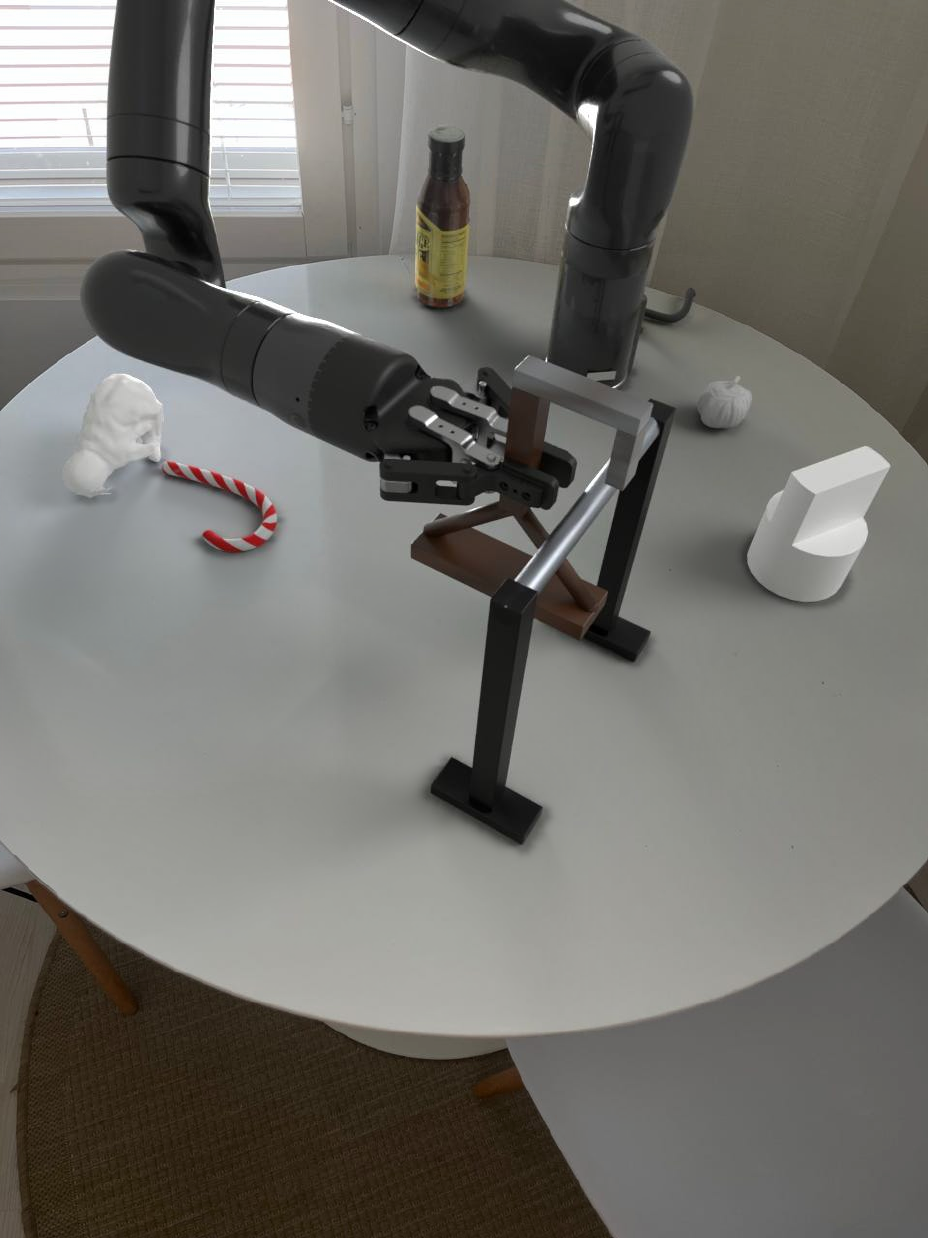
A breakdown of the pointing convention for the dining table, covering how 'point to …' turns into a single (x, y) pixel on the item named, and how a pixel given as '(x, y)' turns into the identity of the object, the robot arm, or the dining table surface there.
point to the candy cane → (237, 488)
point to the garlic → (724, 404)
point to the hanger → (493, 561)
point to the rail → (512, 629)
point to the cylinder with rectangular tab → (816, 526)
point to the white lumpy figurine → (114, 433)
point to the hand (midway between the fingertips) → (563, 484)
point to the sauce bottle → (442, 221)
